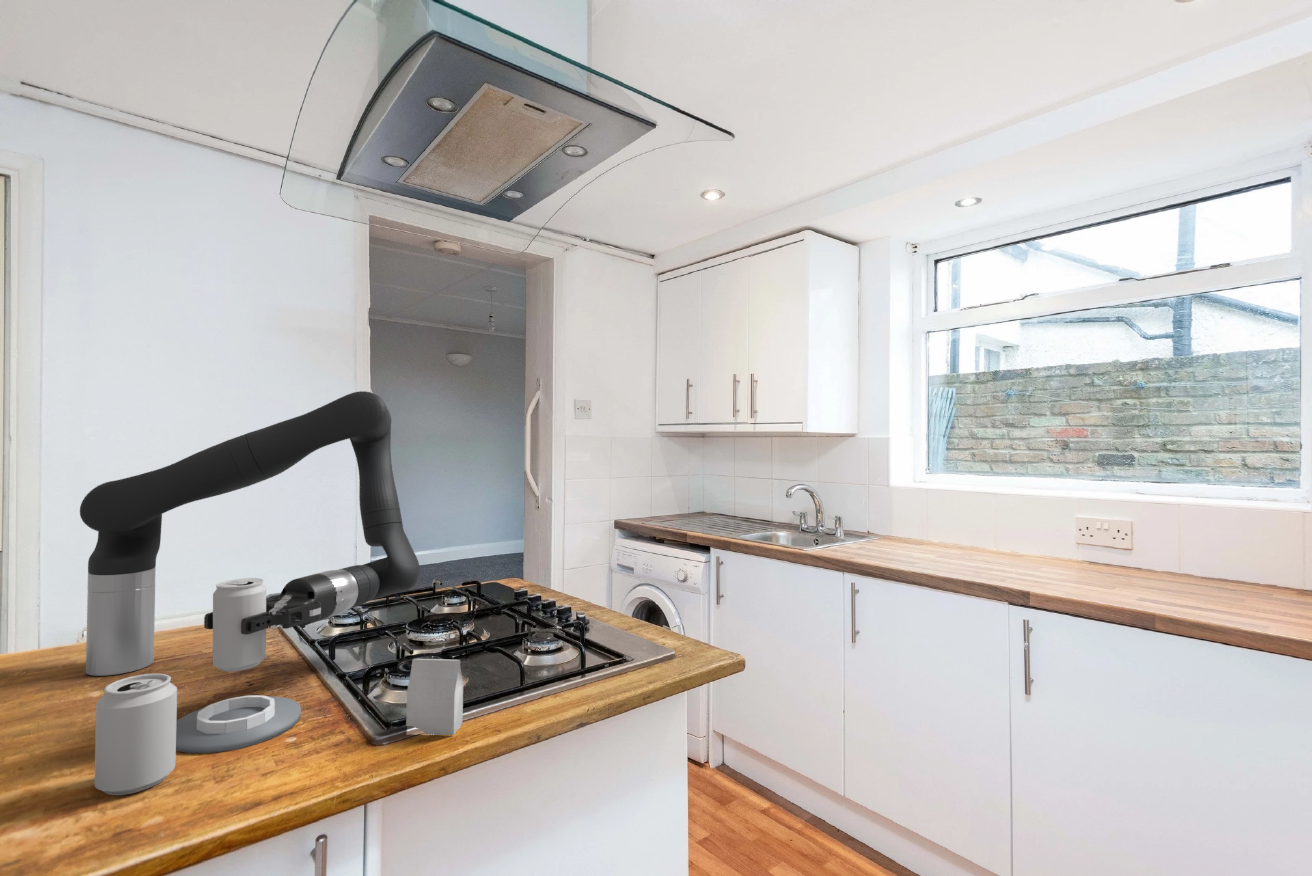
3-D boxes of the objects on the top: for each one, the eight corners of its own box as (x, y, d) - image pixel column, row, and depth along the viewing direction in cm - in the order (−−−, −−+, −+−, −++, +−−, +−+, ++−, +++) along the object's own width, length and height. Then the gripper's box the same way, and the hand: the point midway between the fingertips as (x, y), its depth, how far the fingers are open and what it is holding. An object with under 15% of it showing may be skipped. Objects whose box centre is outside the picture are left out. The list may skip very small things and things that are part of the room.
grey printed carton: (453, 736, 89) (455, 664, 89) (406, 734, 89) (407, 663, 89) (462, 724, 93) (463, 656, 93) (416, 723, 93) (417, 654, 93)
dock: (172, 716, 93) (173, 699, 93) (297, 695, 102) (298, 679, 102) (158, 764, 80) (159, 744, 80) (304, 735, 88) (304, 717, 88)
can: (126, 766, 79) (128, 670, 79) (189, 764, 80) (191, 669, 80) (76, 800, 72) (79, 694, 72) (146, 798, 72) (149, 693, 73)
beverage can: (240, 675, 87) (240, 588, 87) (200, 671, 88) (201, 585, 88) (276, 659, 93) (277, 578, 93) (239, 655, 95) (240, 575, 95)
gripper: (287, 570, 107) (186, 593, 91) (356, 576, 102) (263, 602, 86) (286, 614, 107) (186, 645, 91) (356, 623, 102) (263, 657, 87)
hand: (224, 624), depth 89 cm, fingers closed on beverage can, 6 cm apart
